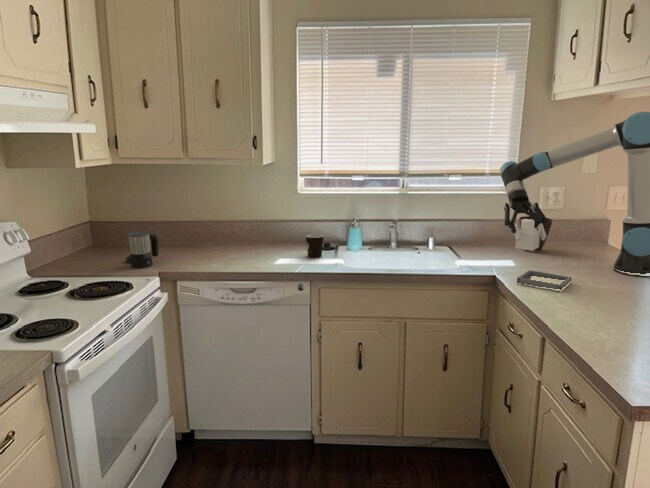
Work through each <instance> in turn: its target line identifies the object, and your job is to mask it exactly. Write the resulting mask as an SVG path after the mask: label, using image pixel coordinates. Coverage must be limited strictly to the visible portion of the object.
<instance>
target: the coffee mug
mask: <svg viewBox="0 0 650 488" xmlns="http://www.w3.org/2000/svg"><path fill="white" fill-rule="evenodd" d="M324 236H325V235H324V234H321V233H309V234H306V235H305V242H306V250H307V257H308V258H311V259H317V258H318V259H319V258H321V257H322V254H323V247H324Z"/></svg>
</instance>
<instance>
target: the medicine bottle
mask: <svg viewBox="0 0 650 488" xmlns="http://www.w3.org/2000/svg"><path fill="white" fill-rule="evenodd" d="M536 229H537V220H536V219H532V218H524V219H522V220H521V230H520V229H518V230H519V233H520V236H521V238H520V239H519V241H516V240H515V245H514V246H515V247H514V248H515V249H518V250H524V251H525V250H530V251H533V250H535V249H537V248H539V239H540V231H539V230H536Z"/></svg>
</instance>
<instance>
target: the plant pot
mask: <svg viewBox="0 0 650 488" xmlns="http://www.w3.org/2000/svg"><path fill="white" fill-rule="evenodd" d="M524 218H531V217H530V216H529V215H525V216H519V218H518V221H519V230H521V220H522V219H524ZM546 218H547V220H548V222H547V223H546V225H545V228H546V231H545V233H546V236H547V237H546V238H545V240H542V239H541V236H540V239H539V248H537V249H535V250H533V251H540V252H541V251H542V249H543V247H544V245H545V243H546V241H547V238H548V236H549V234H550V231H551V230H550V229H551V227H552V223H553V219H552V218H548V217H546ZM538 226H539V225H538V224H537V229H536V230H538ZM529 251H530V250H527V251H526V252H529Z"/></svg>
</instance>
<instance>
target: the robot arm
mask: <svg viewBox="0 0 650 488" xmlns="http://www.w3.org/2000/svg"><path fill="white" fill-rule="evenodd" d="M615 147H621V148H622V152H625V153H626V155H627V202H626V203H627V206H626V207H627V213H626V215H627V216H626V217H625V218H624V219H623V220H622V240H621V246H620V252H619V254H618V256H617V258H616V260H615V262H614V264H613V268H615V269H617V270H620V271H624V272H630V273H640V274H646V273H650V111H638V112H635V113H633V114H631V115H629V116H628V117H627V118H626V119H625V120H623V121H621V122H619V123H615V124H613V126H612V127H611V128H609V129H605V130H603V131H600V132H598V133H597V132H596V133H594V134H593V135H589V136H586V137H584V138H581V139H578V140H575V141H573V142H570V143H567V144H564V145H561V146H558V147H556V148H553V149H551V150H548V151H545V152H544V151H540V152H538V153H535V154H533V155H532V156H530V157H528V158H526V159H524V160H522V161H520V162H516V161H512V160H510V161H506V162H504V163H503V164H501V166H500V168H499V173H500V177H501V180H502V182H503V185H504V188H505V192H506V194H507V195H506V196H507V198H508V202H509V203H508V202H506V203H504V206H503V210H504V226H506V227H508V229H510V231H511V233H512V234H514V237H515V242H516V241H519V239H520V238H521V236H520V233H519V230H520V229H519V228H518V227H519V226H518V224H517V223H516V220H517V217H518V215H520V214H525V215H526V216H530V217H531V218H532V219H536V220H537V224H538V225H539V226H538V230H539V231H540V236H541V239H542V240H545V238H546V237H547V238H548V236H546V233H545V231H546V228H545V225H546V223H547V222H548V220H547V218H548V217H547V216H546V215H545V214H544V213H543V211H542V210H541V208H540V207H539V203H538V202H534V203H531V201H530V199H529V195H528V192H527V190H526V189H527V188H526V186H525V183H524V180H526V179H529V178H531V177H532V176H535V175H537V174H539V173H541V172H545V171H547V170H549V169H550V170H551V169H553V168H555V167H559V166H561V165H564V164H568V163H570V162H575V161H577V160H579V159H583V158H586V157H588V156H591V155H595V154H597V153H602V152H603V151H607V150H609V149H612V148H615ZM511 210H513V213H512V215H511ZM511 216H512V217H511ZM510 217H511V218H510Z"/></svg>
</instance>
